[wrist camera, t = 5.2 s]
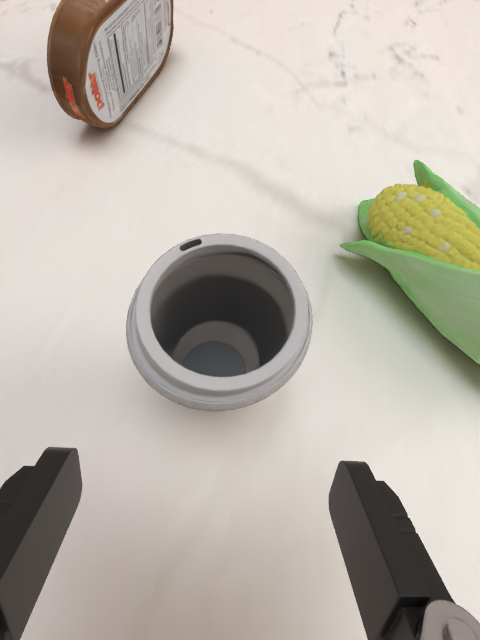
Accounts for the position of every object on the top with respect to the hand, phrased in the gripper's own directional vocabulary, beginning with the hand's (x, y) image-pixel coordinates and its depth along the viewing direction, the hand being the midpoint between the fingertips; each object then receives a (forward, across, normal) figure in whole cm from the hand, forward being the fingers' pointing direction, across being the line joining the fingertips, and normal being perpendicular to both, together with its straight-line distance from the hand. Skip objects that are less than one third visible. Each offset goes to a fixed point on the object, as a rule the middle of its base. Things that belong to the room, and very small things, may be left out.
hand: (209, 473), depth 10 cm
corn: (+17, -17, -1) cm, 24 cm away
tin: (+30, +9, -14) cm, 34 cm away
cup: (+12, 0, +4) cm, 13 cm away
